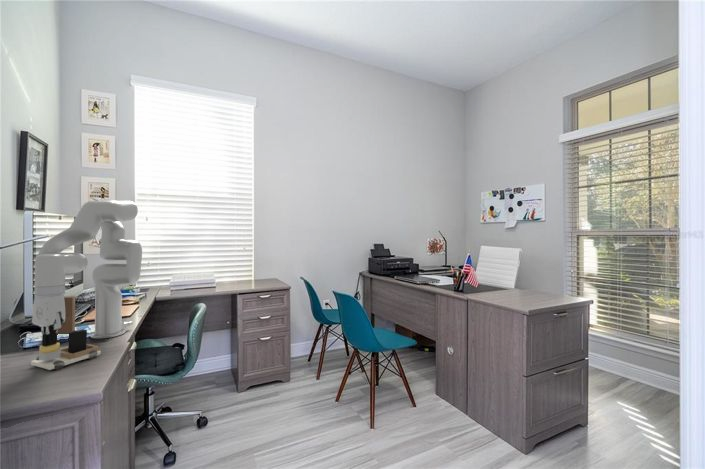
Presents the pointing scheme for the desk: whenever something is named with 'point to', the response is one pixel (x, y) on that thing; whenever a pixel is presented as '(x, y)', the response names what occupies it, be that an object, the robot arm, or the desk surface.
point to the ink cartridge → (77, 341)
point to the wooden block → (68, 316)
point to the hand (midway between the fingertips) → (49, 345)
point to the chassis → (68, 358)
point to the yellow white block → (49, 352)
